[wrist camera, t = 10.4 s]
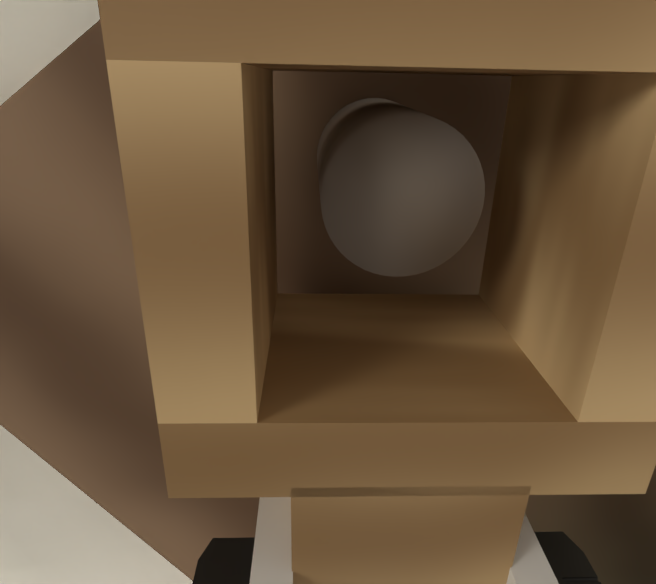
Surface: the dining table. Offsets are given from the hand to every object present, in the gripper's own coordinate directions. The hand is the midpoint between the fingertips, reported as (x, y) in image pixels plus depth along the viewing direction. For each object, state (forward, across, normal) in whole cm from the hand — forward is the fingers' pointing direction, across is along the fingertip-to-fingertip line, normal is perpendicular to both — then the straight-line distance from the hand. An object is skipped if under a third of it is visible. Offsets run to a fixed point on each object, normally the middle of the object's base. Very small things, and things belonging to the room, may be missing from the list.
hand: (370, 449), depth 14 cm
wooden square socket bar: (0, 0, 0) cm, 0 cm away
